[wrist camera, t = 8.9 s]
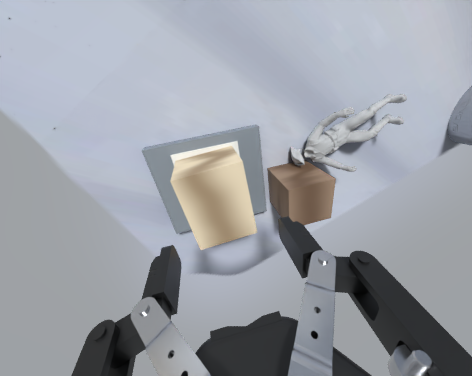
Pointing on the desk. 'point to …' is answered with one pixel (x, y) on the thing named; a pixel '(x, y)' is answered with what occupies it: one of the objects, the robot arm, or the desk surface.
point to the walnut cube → (301, 192)
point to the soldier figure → (344, 133)
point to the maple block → (214, 196)
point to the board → (167, 153)
